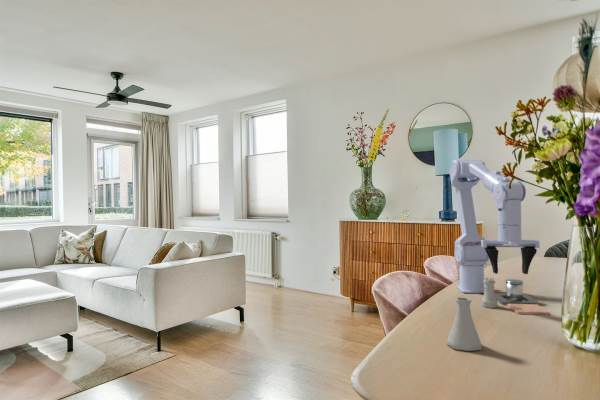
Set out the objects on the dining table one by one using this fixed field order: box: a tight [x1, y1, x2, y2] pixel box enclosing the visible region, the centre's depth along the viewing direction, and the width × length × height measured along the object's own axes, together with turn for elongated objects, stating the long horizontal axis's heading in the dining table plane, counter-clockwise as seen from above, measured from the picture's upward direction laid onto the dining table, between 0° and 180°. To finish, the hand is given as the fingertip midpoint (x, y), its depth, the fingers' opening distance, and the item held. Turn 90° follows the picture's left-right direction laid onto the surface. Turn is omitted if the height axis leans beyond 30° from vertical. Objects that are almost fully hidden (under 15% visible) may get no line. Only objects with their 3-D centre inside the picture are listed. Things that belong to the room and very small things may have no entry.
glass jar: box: [505, 278, 524, 301], centre depth 118 cm, size 5×5×6 cm
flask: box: [446, 296, 483, 352], centre depth 84 cm, size 7×7×10 cm
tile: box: [506, 304, 551, 316], centre depth 108 cm, size 8×8×1 cm
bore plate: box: [494, 293, 541, 306], centre depth 118 cm, size 10×10×1 cm
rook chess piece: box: [480, 277, 499, 309], centre depth 113 cm, size 4×4×8 cm
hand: (510, 273), depth 110 cm, fingers open, 7 cm apart
